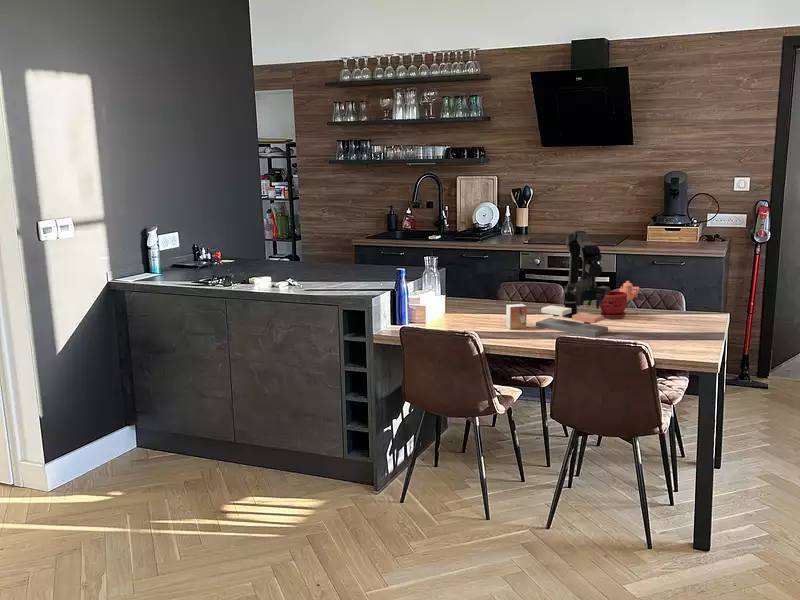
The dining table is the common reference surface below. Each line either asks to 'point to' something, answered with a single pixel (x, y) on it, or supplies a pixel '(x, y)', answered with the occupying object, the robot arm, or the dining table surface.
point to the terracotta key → (587, 317)
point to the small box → (516, 316)
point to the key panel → (572, 327)
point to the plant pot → (614, 305)
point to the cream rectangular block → (556, 310)
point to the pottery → (629, 290)
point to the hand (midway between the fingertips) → (587, 307)
